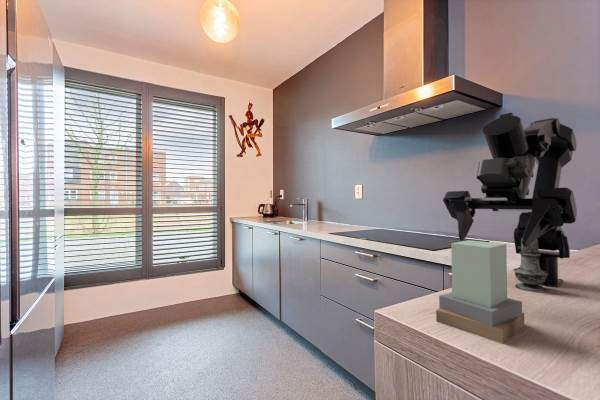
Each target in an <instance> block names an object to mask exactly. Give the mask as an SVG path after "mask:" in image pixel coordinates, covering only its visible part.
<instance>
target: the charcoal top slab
mask: <svg viewBox="0 0 600 400" xmlns="http://www.w3.org/2000/svg"><path fill="white" fill-rule="evenodd" d="M438 297H439V298H438V301H439V303H438V304H439V306H438V307H439V308H441V309H444V310H446V311H449V312H452V313H455V314H458V315H461V316H464V317H466V318H469V319H472V320H475V321H478V322H481V323H483V324H486V325H489V326H492V327H493V326H495V325H498V324H500V323H503V322H505V321H508V320H510V319H513V318H515V317H518V316H521V315H522V313H523V302H522V301H521V300H517V299H514V298H509V297H507V300H505V301H503V302H501V303H499V304H497V305H495V306H493V307H487V306H483V305H480V304H476V303H472V302H469V301H465V300H461V299H458V298H454V297H452V291H451V292H449V293H448V292H447V293H445V294H441V295H439V296H438ZM439 308H438V309H439Z"/></svg>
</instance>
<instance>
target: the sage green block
mask: <svg viewBox="0 0 600 400" xmlns="http://www.w3.org/2000/svg"><path fill="white" fill-rule="evenodd" d="M450 245H451V249H450V251H451V252H450V254H451V292H452V297H454V298H458V299H461V300H465V301H469V302H472V303H476V304H480V305H483V306H487V307H493V306H495V305H497V304H499V303H501V302H503V301H505V300H507V298H508V270H507V269H508V265H507V264H508V262H507V249H508V248H507V243H499V242H489V241H479V240H469V239H468V240H463V241H461V240H460V241H457V242H451V244H450Z"/></svg>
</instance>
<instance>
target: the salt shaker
mask: <svg viewBox="0 0 600 400" xmlns="http://www.w3.org/2000/svg"><path fill="white" fill-rule="evenodd" d="M522 240H523V238H522V239H521V252H520V253H519V255H520V265H519V267H515V268H513V269H512V271H513V272H514V276H515V278H516V279H517V280H518V281H519V283H516V284H515V286H514V287H515V288H516V289H519V290H522V291H527V292H532V293H545V292H547V291H548V290H547V288H545V287H544V286H543V284H542V283H543V282H545V280H546V276H547V275H548V273H547V272H545V271H542V270H541V269H540V266H539V256H540V255H541V254H539V253H538V250H539V249H538V240H537V239H536V240H535V241H533V242H532V243H531V244H530V245H528V246H527V247H524V246H523V244H522Z"/></svg>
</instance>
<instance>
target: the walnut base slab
mask: <svg viewBox="0 0 600 400" xmlns="http://www.w3.org/2000/svg"><path fill="white" fill-rule="evenodd" d="M435 313H436V314H435V316H436V317H435V320H436V321H435V322H437V323H440V324H443V325H445V326H449V327H452V328H455V329H458V330H461V331H463V332H466V333H470V334H472V335H476V336H478V337H481V338H485V339H487V340H490V341H493V342H497V343H499V344H504V343H506V341H508V340H509V339H511V337H512V336H514V334H516V333H517V332H518V331H519V330H521V328H522V327H524V326H525V312H522V315H521V316H518V317H515V318H513V319H510V320H508V321H505V322H503V323H500V324H498V325H495V326H493V327H492V326H489V325H486V324H483V323H481V322H478V321H475V320H472V319H469V318H466V317H464V316H461V315H458V314H455V313H452V312H449V311H446V310H444V309H441V308H437V309H436V310H435Z"/></svg>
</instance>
